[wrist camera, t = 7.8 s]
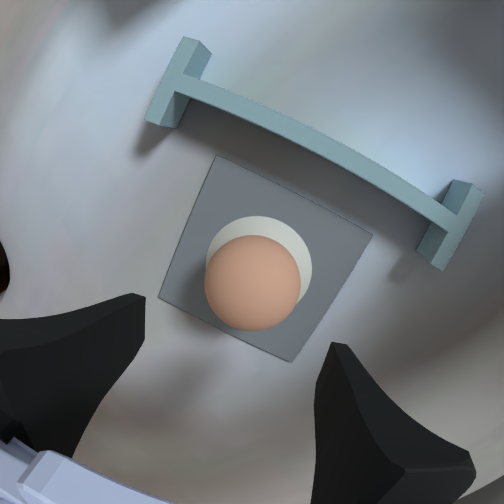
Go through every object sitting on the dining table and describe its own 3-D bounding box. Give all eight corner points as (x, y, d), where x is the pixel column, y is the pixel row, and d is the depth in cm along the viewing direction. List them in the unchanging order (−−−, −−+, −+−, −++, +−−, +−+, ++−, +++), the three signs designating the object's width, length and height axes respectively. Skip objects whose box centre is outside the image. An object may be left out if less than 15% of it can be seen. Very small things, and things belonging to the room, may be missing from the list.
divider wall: (464, 188, 16) (484, 193, 14) (427, 257, 18) (442, 271, 15) (197, 49, 16) (183, 36, 14) (162, 122, 18) (143, 119, 15)
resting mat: (372, 234, 18) (373, 235, 18) (291, 360, 21) (291, 362, 21) (217, 155, 18) (216, 155, 18) (159, 295, 21) (158, 297, 21)
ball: (306, 233, 18) (313, 263, 14) (290, 310, 20) (290, 357, 15) (220, 218, 19) (198, 243, 14) (211, 296, 20) (189, 339, 15)
